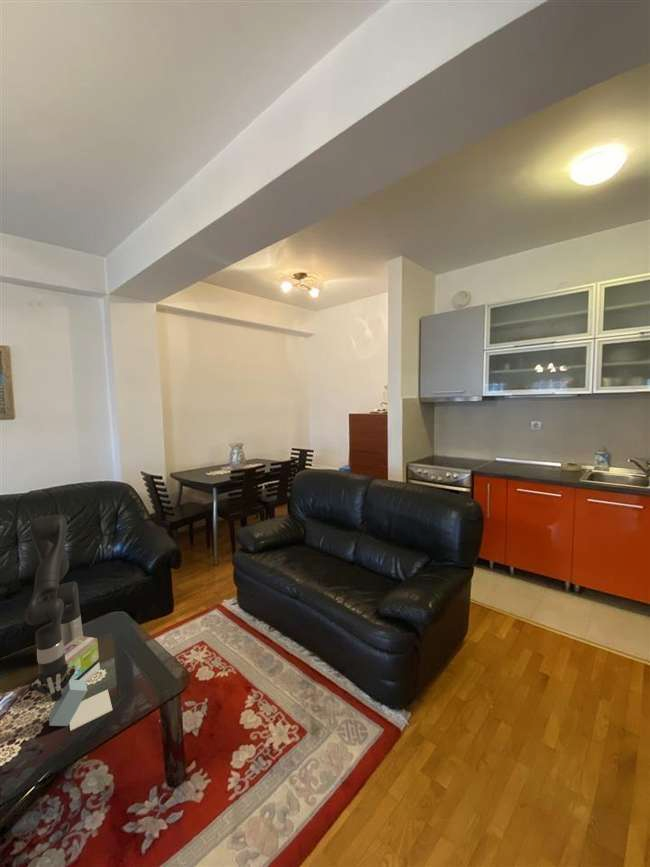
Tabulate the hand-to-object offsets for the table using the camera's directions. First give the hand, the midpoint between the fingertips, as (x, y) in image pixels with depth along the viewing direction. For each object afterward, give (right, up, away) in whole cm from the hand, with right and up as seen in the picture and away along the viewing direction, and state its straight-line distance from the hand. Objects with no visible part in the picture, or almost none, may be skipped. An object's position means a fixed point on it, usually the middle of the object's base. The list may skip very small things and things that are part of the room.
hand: (57, 699), depth 130 cm
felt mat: (+8, -9, +7) cm, 13 cm away
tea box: (-7, -8, +21) cm, 23 cm away
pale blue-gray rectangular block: (0, -8, +1) cm, 8 cm away
